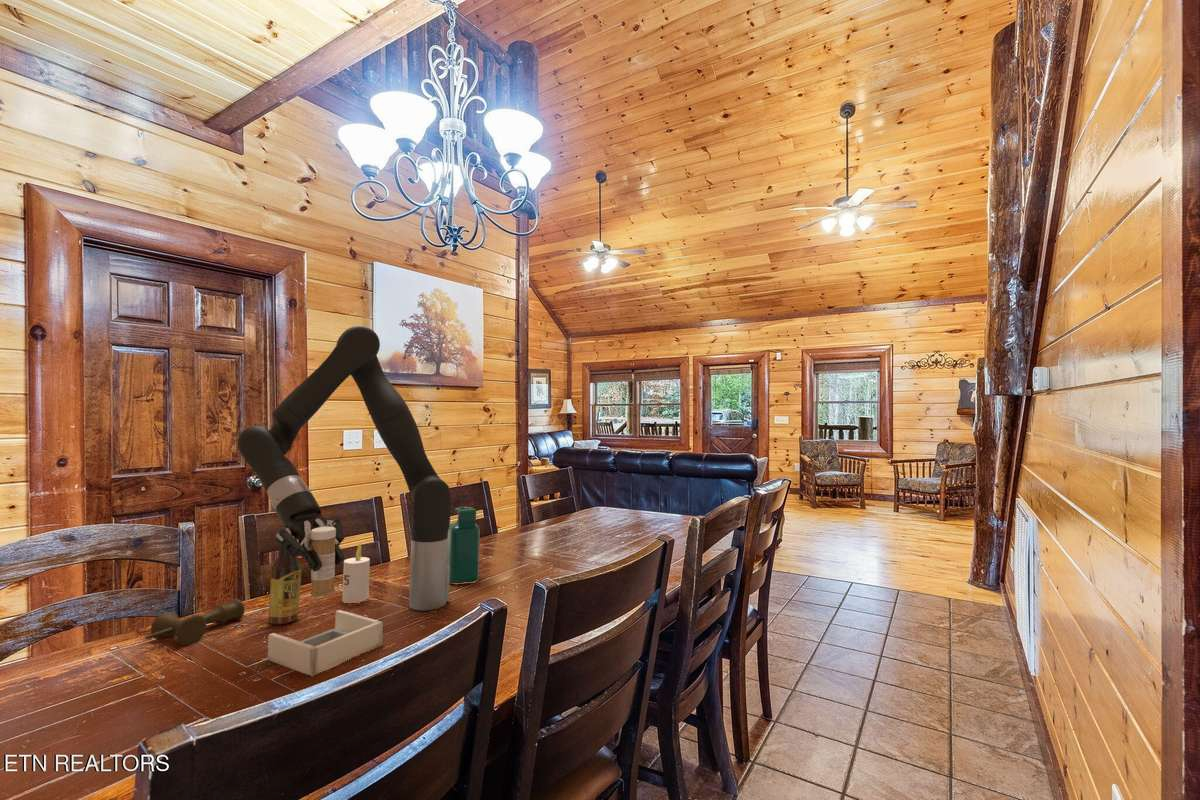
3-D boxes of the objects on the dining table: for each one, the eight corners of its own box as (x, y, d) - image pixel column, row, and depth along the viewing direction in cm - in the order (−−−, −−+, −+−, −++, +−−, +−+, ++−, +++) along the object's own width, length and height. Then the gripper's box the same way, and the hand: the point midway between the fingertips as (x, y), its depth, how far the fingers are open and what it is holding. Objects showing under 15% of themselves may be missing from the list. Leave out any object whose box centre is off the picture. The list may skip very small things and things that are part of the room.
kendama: (252, 623, 128) (160, 656, 109) (223, 619, 131) (128, 650, 112) (254, 598, 128) (162, 625, 109) (225, 594, 131) (130, 620, 112)
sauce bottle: (284, 627, 124) (288, 540, 125) (261, 624, 126) (264, 538, 126) (305, 617, 131) (308, 534, 131) (283, 614, 132) (286, 533, 133)
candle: (336, 602, 141) (338, 544, 142) (356, 594, 147) (357, 539, 148) (354, 605, 139) (356, 547, 139) (373, 598, 145) (375, 542, 146)
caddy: (338, 632, 122) (339, 609, 122) (382, 645, 116) (382, 621, 116) (267, 659, 108) (268, 634, 108) (312, 676, 101) (313, 649, 102)
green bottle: (445, 578, 164) (447, 505, 164) (473, 575, 167) (475, 504, 168) (451, 587, 155) (453, 510, 156) (480, 584, 158) (482, 509, 159)
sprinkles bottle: (310, 592, 112) (310, 527, 112) (334, 588, 114) (335, 525, 114) (310, 599, 108) (311, 531, 108) (335, 595, 110) (336, 529, 110)
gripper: (267, 494, 109) (305, 563, 103) (331, 485, 121) (368, 546, 115) (251, 518, 111) (287, 586, 105) (316, 507, 124) (351, 567, 118)
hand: (329, 565), depth 110 cm, fingers closed on sprinkles bottle, 4 cm apart
